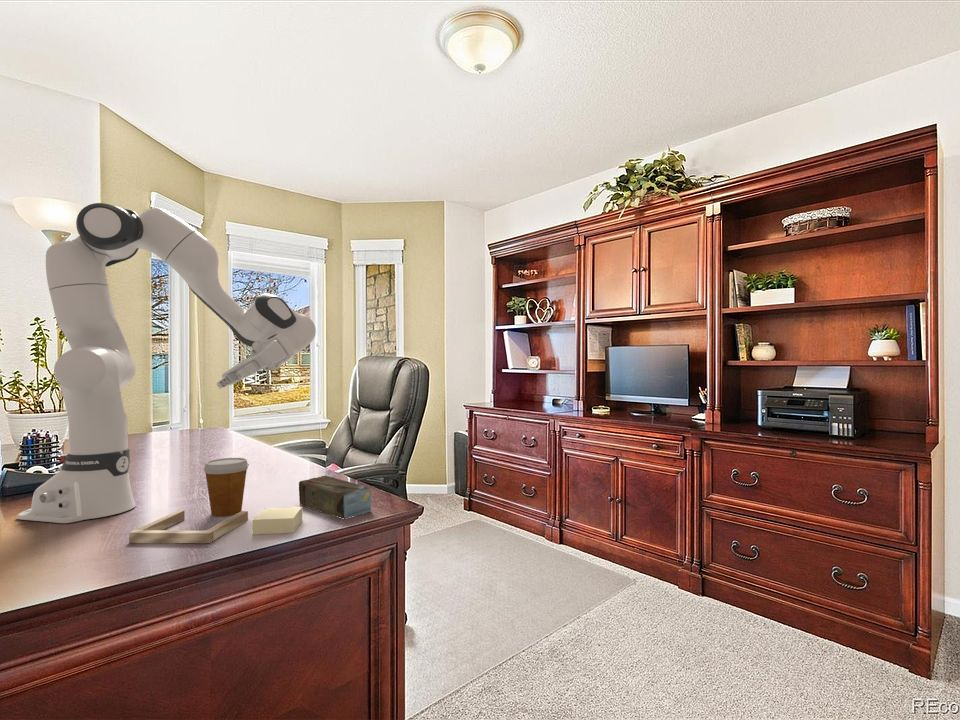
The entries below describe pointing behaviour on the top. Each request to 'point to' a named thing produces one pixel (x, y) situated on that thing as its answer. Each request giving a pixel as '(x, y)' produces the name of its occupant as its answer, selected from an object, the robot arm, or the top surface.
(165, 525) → the frame
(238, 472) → the disposable coffee cup
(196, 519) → the top surface
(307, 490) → the beverage carton
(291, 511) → the note block
